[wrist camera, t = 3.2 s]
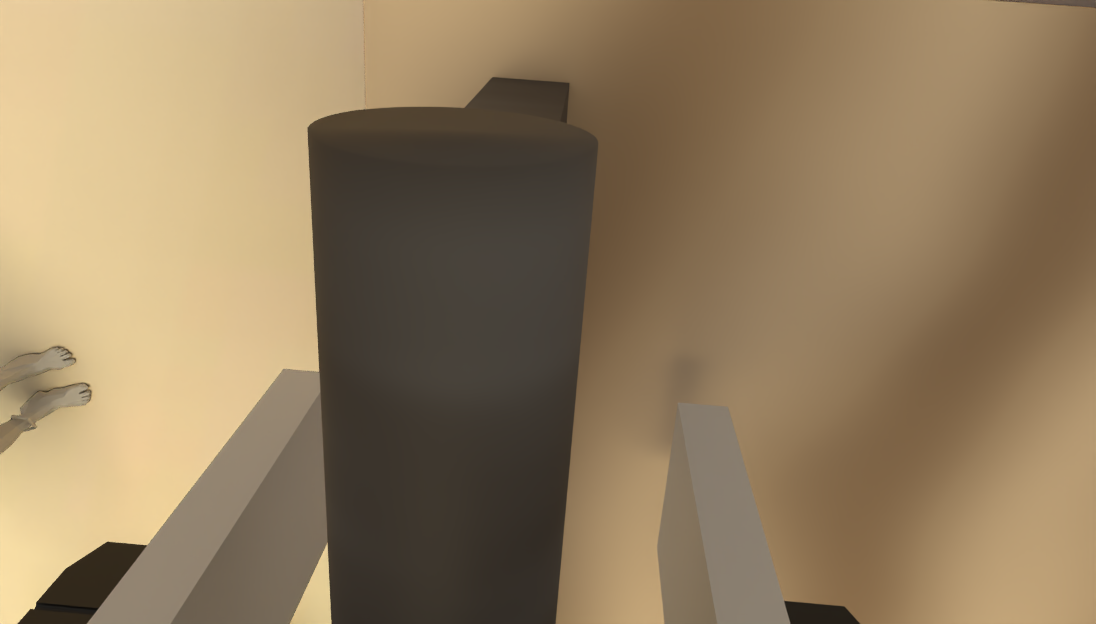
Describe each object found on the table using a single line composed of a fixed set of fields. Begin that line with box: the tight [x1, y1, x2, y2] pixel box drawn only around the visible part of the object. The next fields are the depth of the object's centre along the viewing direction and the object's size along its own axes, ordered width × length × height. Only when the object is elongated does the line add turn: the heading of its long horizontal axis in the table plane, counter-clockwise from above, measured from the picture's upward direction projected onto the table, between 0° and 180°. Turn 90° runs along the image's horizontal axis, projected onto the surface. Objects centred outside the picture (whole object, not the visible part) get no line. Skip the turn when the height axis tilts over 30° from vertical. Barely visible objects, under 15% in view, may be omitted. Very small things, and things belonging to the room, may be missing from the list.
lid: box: [308, 0, 1096, 624], centre depth 11 cm, size 21×14×9 cm
